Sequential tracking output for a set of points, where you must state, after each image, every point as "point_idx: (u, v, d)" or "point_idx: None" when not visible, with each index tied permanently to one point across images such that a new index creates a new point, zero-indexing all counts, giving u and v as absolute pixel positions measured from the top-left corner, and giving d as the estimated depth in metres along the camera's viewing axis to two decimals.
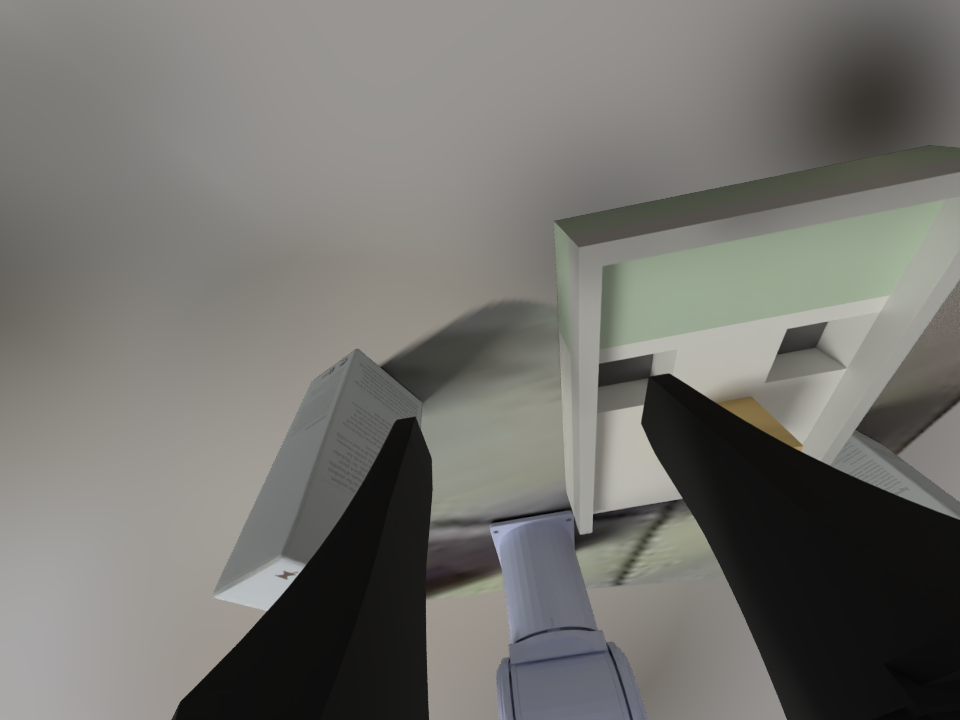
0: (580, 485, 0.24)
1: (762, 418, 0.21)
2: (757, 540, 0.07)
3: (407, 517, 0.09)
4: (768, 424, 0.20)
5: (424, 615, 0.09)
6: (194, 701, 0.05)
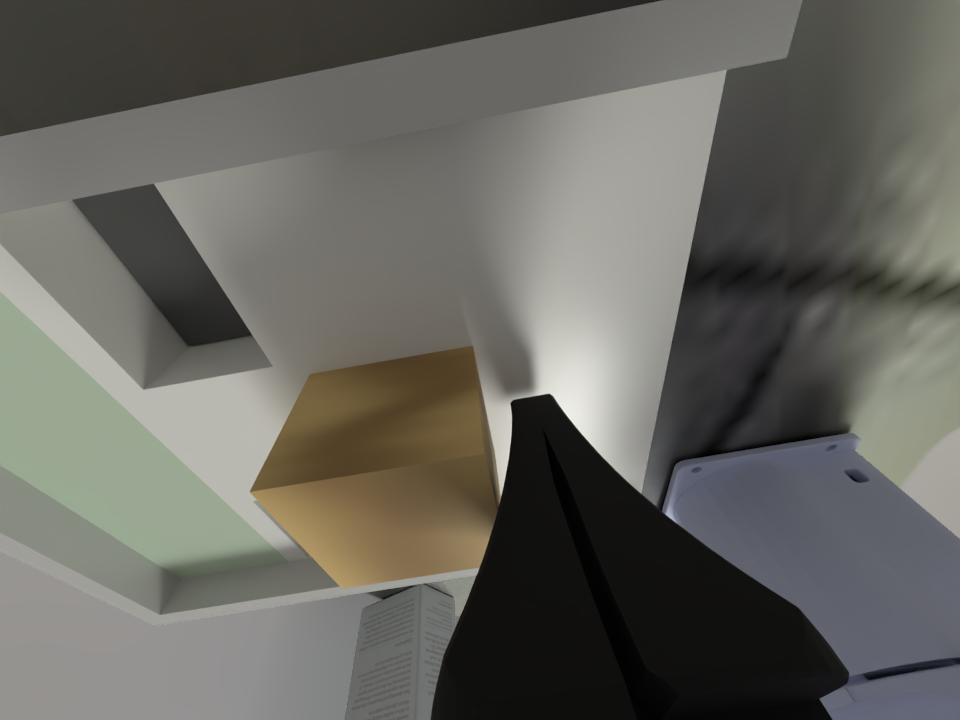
0: None
1: None
2: (583, 567, 0.07)
3: None
4: None
5: None
6: (461, 660, 0.04)
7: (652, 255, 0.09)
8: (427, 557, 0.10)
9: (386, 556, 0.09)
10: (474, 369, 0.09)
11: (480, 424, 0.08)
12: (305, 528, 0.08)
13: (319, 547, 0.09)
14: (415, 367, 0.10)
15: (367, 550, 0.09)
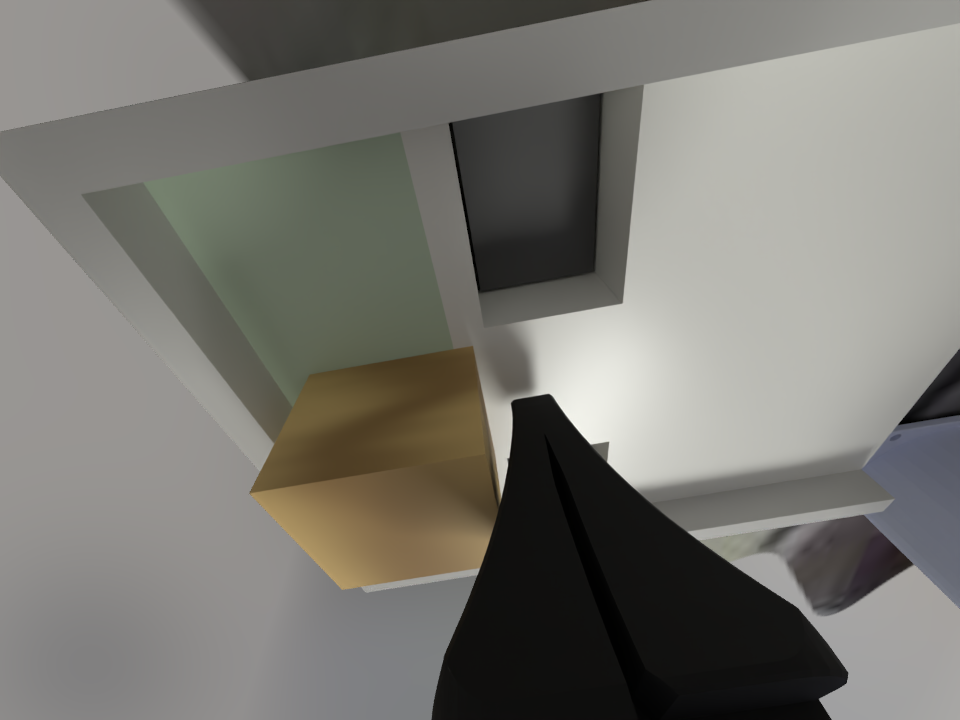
0: (728, 534, 0.16)
1: None
2: (583, 567, 0.07)
3: None
4: None
5: None
6: (462, 660, 0.04)
7: None
8: (427, 557, 0.10)
9: (386, 556, 0.09)
10: (474, 369, 0.09)
11: (481, 425, 0.08)
12: (305, 529, 0.08)
13: (319, 548, 0.09)
14: (415, 367, 0.10)
15: (367, 551, 0.09)
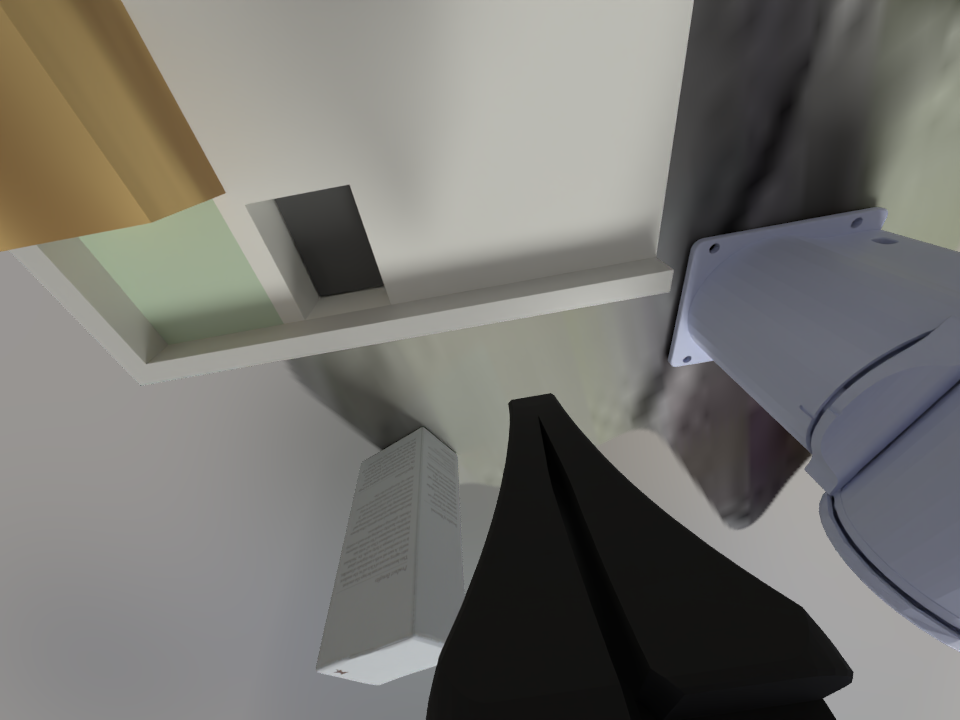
0: (511, 318, 0.15)
1: None
2: (585, 567, 0.07)
3: None
4: None
5: None
6: (456, 661, 0.04)
7: None
8: (39, 194, 0.09)
9: None
10: None
11: None
12: None
13: None
14: None
15: None
